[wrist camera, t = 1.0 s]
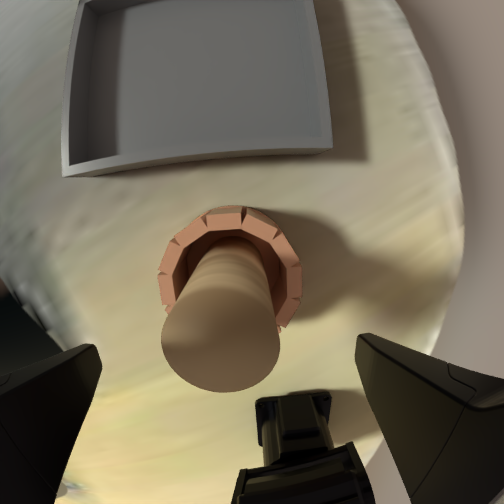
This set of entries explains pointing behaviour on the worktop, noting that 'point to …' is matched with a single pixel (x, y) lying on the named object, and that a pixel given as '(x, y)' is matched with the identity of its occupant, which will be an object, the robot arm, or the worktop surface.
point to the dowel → (224, 320)
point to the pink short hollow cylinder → (243, 225)
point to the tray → (191, 83)
